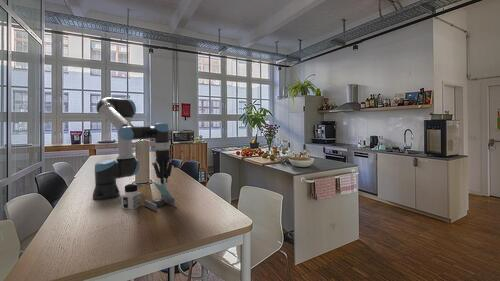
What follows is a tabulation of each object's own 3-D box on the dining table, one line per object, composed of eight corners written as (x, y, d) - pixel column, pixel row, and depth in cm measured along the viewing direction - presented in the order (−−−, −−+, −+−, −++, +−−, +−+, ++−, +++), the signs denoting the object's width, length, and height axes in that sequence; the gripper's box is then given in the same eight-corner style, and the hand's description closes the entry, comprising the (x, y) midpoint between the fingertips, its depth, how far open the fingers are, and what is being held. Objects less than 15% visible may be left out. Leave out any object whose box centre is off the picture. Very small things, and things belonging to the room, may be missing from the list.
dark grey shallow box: (144, 205, 142) (143, 197, 142) (162, 200, 151) (162, 193, 150) (155, 211, 133) (155, 203, 132) (175, 205, 141) (174, 198, 141)
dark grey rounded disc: (149, 205, 142) (149, 200, 142) (160, 202, 147) (160, 197, 147) (154, 208, 137) (154, 203, 137) (166, 205, 142) (166, 200, 142)
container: (133, 209, 135) (132, 186, 134) (121, 208, 137) (120, 186, 136) (142, 205, 143) (141, 183, 142) (130, 204, 144) (129, 182, 143)
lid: (153, 182, 144) (154, 180, 145) (162, 195, 149) (163, 194, 150) (163, 186, 136) (165, 184, 137) (173, 199, 141) (174, 198, 142)
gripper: (155, 151, 134) (157, 192, 136) (175, 148, 144) (177, 187, 146) (148, 150, 139) (150, 190, 141) (169, 147, 149) (170, 185, 151)
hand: (164, 188), depth 144 cm, fingers closed
